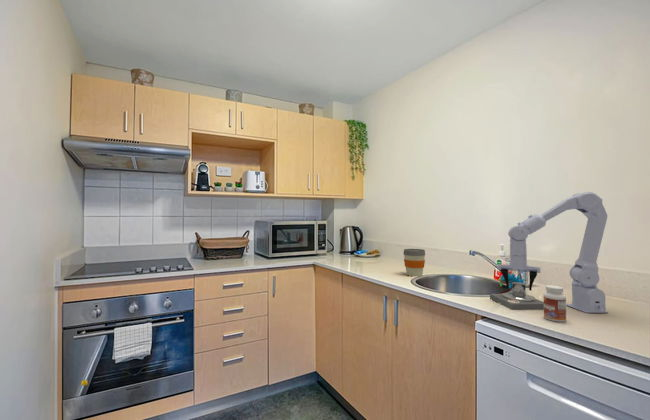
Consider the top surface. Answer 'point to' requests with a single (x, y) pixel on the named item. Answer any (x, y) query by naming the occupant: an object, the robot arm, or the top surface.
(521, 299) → the scale
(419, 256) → the reusable coffee cup
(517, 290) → the steel spacer
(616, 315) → the top surface
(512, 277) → the teal lumpy piece
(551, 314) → the pill bottle
